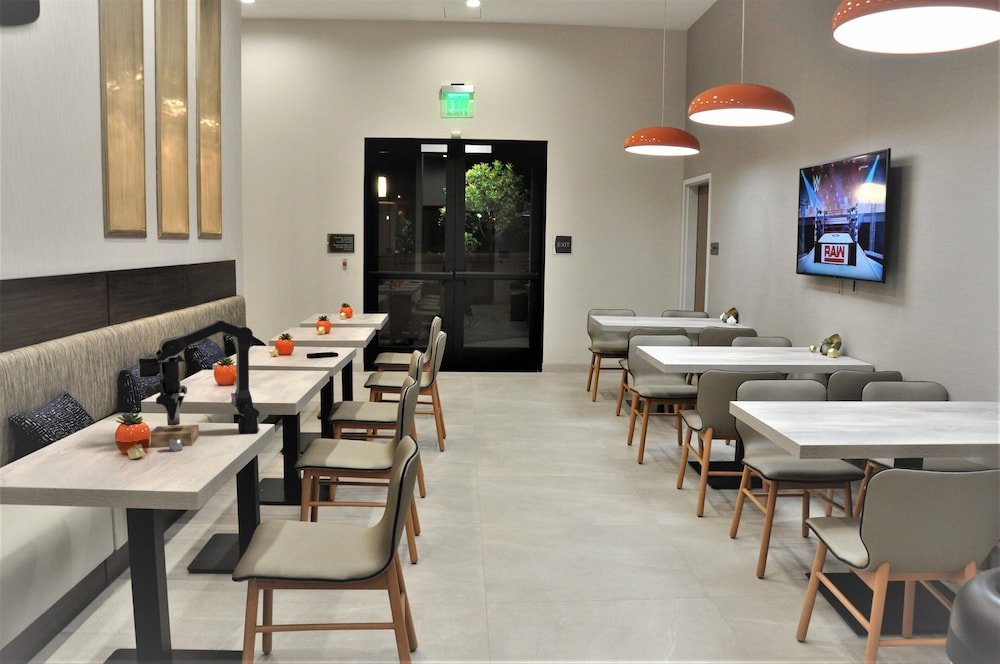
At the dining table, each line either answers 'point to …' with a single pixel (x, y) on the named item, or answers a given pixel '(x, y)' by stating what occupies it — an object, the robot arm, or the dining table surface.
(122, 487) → the dining table surface
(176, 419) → the tall pin
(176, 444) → the short pin
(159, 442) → the hole block
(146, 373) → the robot arm
